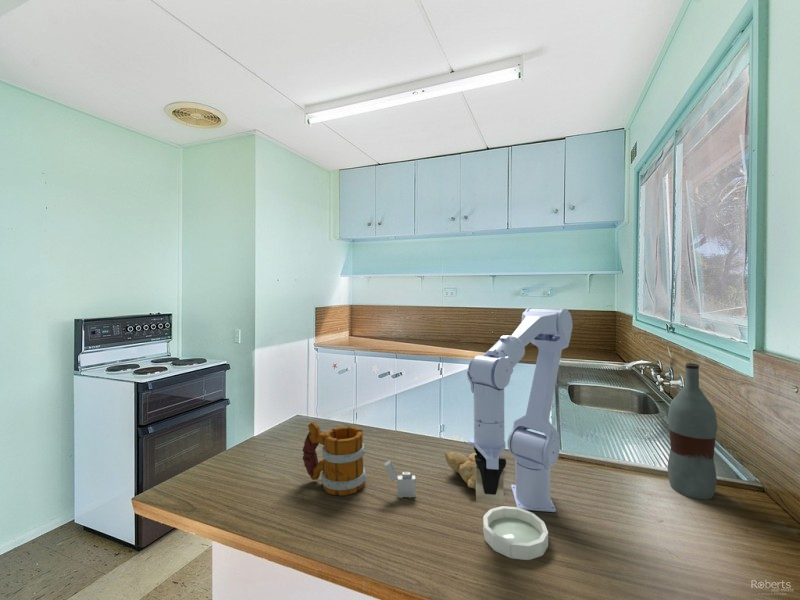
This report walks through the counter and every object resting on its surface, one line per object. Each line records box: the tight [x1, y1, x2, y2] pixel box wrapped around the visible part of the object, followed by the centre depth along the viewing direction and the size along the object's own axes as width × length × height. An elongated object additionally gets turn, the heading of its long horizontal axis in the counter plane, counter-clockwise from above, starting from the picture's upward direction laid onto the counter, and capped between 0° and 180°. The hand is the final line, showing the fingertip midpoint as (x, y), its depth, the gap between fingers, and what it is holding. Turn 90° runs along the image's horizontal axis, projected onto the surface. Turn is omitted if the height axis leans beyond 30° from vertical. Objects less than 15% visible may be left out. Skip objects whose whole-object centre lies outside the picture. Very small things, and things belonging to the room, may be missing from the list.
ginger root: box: [444, 451, 477, 490], centre depth 91 cm, size 16×16×8 cm
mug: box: [302, 421, 367, 497], centre depth 89 cm, size 11×16×15 cm, turn 78°
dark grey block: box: [475, 464, 505, 505], centre depth 69 cm, size 3×5×7 cm, turn 81°
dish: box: [482, 505, 549, 561], centre depth 69 cm, size 12×12×2 cm
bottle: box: [667, 362, 718, 500], centre depth 85 cm, size 9×9×30 cm
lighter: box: [384, 460, 417, 499], centre depth 84 cm, size 7×2×8 cm, turn 91°
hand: (489, 488), depth 69 cm, fingers closed on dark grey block, 3 cm apart
